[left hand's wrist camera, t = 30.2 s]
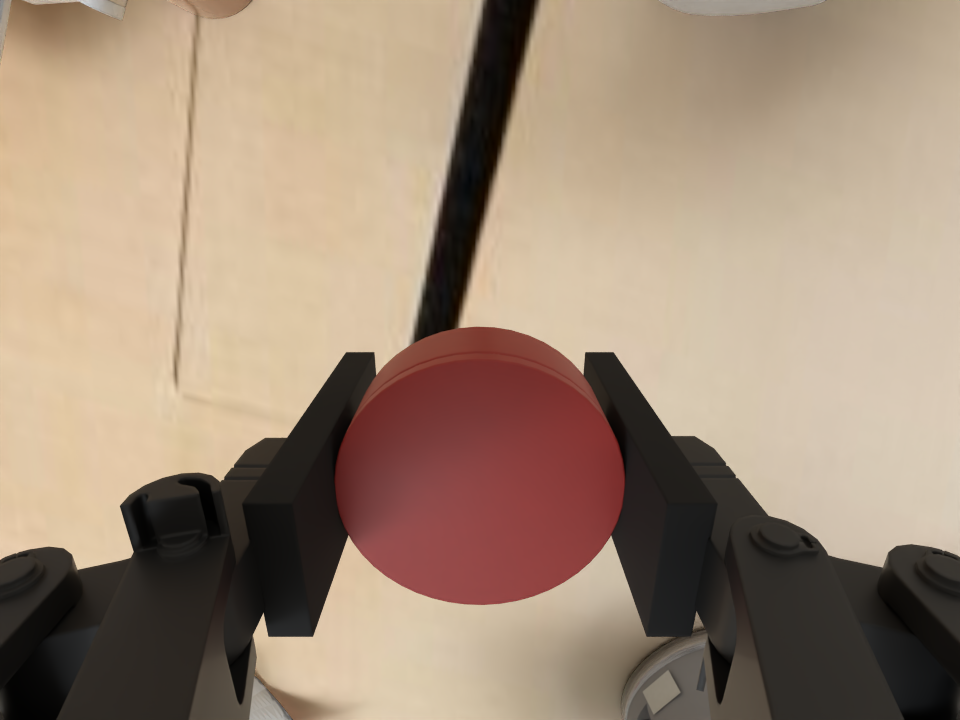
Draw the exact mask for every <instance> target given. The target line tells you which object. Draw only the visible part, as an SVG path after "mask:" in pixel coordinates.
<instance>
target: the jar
mask: <svg viewBox="0 0 960 720" xmlns="http://www.w3.org/2000/svg"><path fill="white" fill-rule="evenodd" d="M167 1H169V2H171V3H173V4H175V5H176V6H178V7H180V8H182V9H184V10H186V11H188V12H190V13H192V14H194V15H197V16H200V17H204V18H210V19H219V18H225V17H229V16H232V15H234V14H236V13H238V12H239V11H241V10H242V9H243V8H245V7H246V6H247V5H248V4H249V3H250V1H251V0H167Z"/></svg>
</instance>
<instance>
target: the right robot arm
mask: <svg viewBox="0 0 960 720" xmlns="http://www.w3.org/2000/svg"><path fill="white" fill-rule="evenodd" d="M23 1H26V2H29V3H32V4H34V5H37V4H52V3H67V2H81V3H83V4H85V5H87V6H88V7H91V8H93V9H95V10H97V11H99V12H101V13H103V14H106V15H108V16H111V17H113V18H116V19H118V20H121V21H122V20H123V16H124V13H125V9H126V4H127V0H23ZM11 2H12V0H0V64H1V59H2V53H3V47H4V41H5V36H6V30H7V24H8V19H9V13H10V8H11Z"/></svg>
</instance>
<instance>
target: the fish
mask: <svg viewBox="0 0 960 720" xmlns="http://www.w3.org/2000/svg"><path fill="white" fill-rule="evenodd" d="M249 720H293V719H292V718H291V717H290V716H289V714H288V713H287V712H286V710H285V709H284V708H283V707H282V705H281V704H280V703H279V702H278V701H277V700H276V698H275V697H274V696H273V695H272V694H271V693H270V692H269V691H268V689H267V688H266V687H265V686H264V685H263V684H262V682H261V681H260V680H259V679H258V678H256V677H255V676H254V683H253V692H252V700H251V709H250V717H249Z"/></svg>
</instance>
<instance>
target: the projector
mask: <svg viewBox="0 0 960 720" xmlns="http://www.w3.org/2000/svg"><path fill="white" fill-rule="evenodd" d="M659 1H660V2H661V3H663V4H665V5H667V6H668V7H670V8H672V9H674V10H677V11H680V12H683V13H687V14H694V15H705V16H736V15H748V14H759V13H767V12H774V11H781V10H788V9H795V8H801V7H807V6H813V5H817V4H819V3H822V2H824V1H826V0H659Z"/></svg>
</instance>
